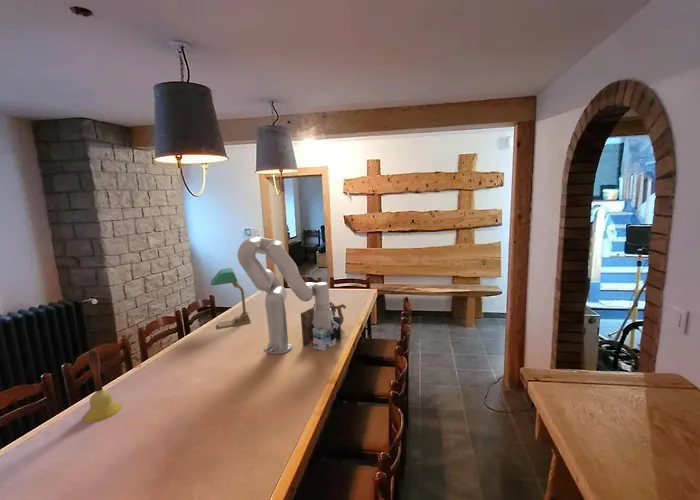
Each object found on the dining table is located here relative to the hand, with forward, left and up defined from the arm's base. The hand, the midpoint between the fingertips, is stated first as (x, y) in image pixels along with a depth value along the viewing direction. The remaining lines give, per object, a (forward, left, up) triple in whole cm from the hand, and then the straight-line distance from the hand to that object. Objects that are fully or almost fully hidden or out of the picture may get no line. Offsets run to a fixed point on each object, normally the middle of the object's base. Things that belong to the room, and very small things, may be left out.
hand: (325, 338), depth 187 cm
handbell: (-85, +46, -5) cm, 97 cm away
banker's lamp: (+6, +74, -5) cm, 75 cm away
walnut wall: (+3, +11, -4) cm, 12 cm away
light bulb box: (0, 0, -5) cm, 5 cm away
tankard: (+24, +11, -5) cm, 27 cm away
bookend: (+10, +3, -4) cm, 11 cm away
